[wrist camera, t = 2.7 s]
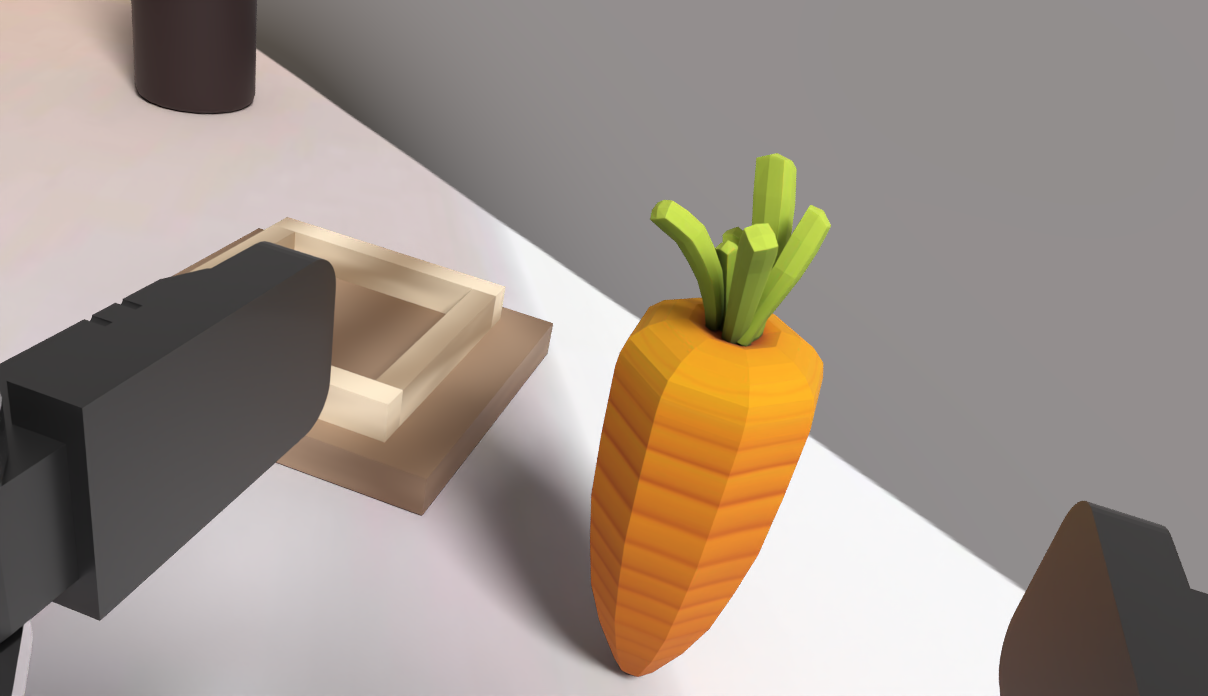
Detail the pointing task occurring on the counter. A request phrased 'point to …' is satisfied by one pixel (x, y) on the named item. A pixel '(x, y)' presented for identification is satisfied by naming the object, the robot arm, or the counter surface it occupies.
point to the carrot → (703, 428)
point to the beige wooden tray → (404, 366)
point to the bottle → (195, 53)
